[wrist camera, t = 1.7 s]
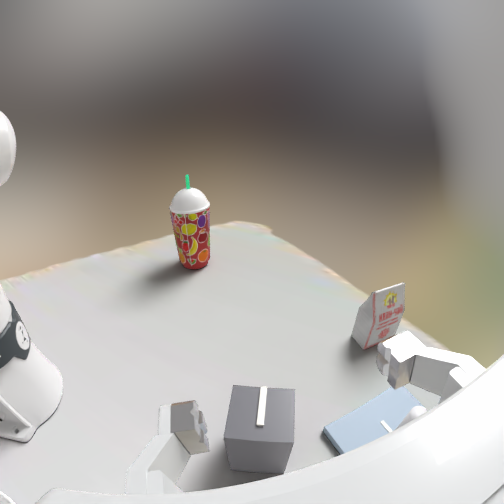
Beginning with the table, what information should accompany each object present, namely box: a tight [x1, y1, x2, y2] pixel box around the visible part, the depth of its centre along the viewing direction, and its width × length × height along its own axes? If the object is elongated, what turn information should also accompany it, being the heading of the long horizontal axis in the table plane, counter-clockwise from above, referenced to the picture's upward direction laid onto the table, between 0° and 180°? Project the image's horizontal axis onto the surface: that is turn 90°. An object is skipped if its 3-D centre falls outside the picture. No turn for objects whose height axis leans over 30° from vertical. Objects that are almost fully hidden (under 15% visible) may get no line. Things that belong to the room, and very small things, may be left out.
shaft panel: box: [323, 386, 428, 455], centre depth 24 cm, size 13×14×8 cm
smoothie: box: [169, 175, 210, 269], centre depth 59 cm, size 8×8×20 cm
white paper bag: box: [351, 283, 405, 350], centre depth 41 cm, size 4×7×10 cm, turn 109°
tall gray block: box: [224, 385, 295, 474], centre depth 25 cm, size 6×6×10 cm
